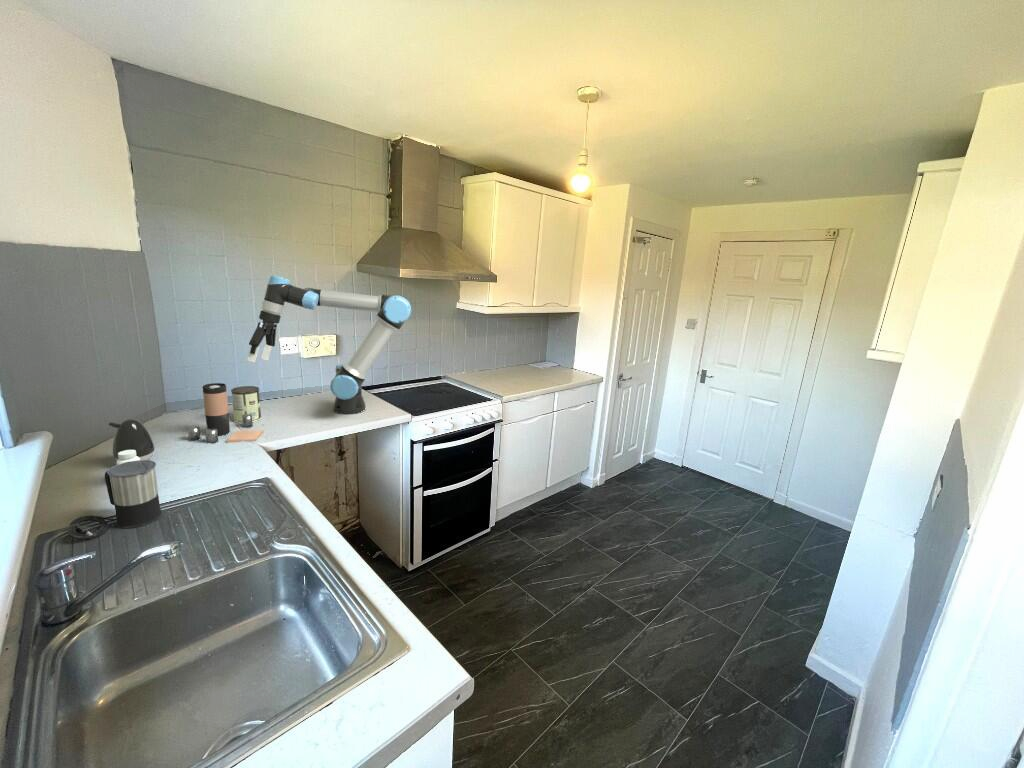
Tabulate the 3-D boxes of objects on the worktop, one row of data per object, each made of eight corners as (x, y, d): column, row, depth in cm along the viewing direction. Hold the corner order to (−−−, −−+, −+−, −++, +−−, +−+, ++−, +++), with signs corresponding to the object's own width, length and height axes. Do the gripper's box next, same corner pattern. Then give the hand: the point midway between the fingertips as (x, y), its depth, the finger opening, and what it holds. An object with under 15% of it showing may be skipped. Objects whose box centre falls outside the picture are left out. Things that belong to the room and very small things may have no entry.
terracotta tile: (263, 432, 170) (263, 430, 169) (255, 441, 160) (255, 439, 160) (236, 433, 167) (235, 430, 167) (226, 442, 158) (226, 440, 157)
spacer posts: (254, 424, 177) (253, 413, 176) (236, 442, 158) (235, 430, 157) (207, 425, 172) (205, 414, 171) (183, 444, 153) (181, 431, 152)
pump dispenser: (123, 457, 140) (116, 415, 136) (161, 455, 144) (155, 413, 140) (107, 470, 131) (99, 425, 127) (148, 467, 134) (141, 423, 131)
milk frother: (172, 510, 113) (165, 460, 109) (118, 546, 97) (108, 489, 94) (119, 507, 112) (111, 457, 109) (57, 542, 97) (45, 485, 94)
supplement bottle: (148, 478, 128) (143, 449, 126) (130, 486, 123) (125, 456, 120) (133, 476, 129) (128, 447, 126) (114, 484, 123) (109, 454, 121)
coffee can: (245, 414, 188) (242, 385, 185) (266, 417, 187) (264, 387, 184) (228, 421, 178) (225, 390, 175) (250, 424, 177) (247, 392, 174)
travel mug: (224, 428, 170) (220, 382, 166) (234, 433, 167) (230, 385, 162) (203, 433, 164) (198, 385, 159) (213, 438, 160) (208, 389, 156)
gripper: (273, 311, 185) (260, 356, 186) (248, 307, 160) (234, 359, 161) (290, 316, 186) (278, 361, 187) (268, 313, 162) (255, 365, 163)
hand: (258, 360), depth 174 cm, fingers open, 13 cm apart
